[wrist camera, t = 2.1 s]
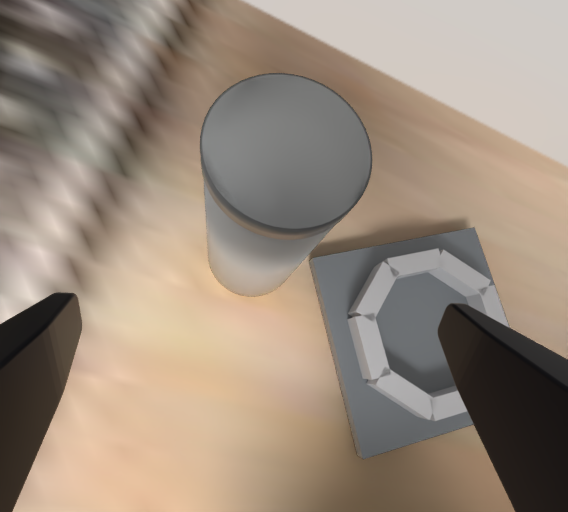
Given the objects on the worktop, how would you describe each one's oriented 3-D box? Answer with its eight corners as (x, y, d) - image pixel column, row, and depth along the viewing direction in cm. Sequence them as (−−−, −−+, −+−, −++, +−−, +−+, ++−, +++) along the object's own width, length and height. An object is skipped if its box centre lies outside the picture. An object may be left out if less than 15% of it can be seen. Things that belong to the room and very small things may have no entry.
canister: (303, 287, 21) (392, 215, 11) (215, 305, 20) (218, 244, 10) (283, 206, 22) (347, 67, 12) (199, 219, 21) (185, 79, 11)
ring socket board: (525, 402, 21) (555, 406, 20) (357, 455, 19) (372, 465, 17) (466, 231, 24) (488, 220, 22) (309, 261, 21) (318, 251, 20)
